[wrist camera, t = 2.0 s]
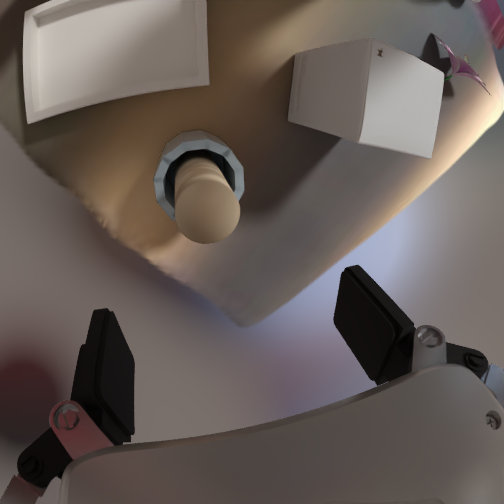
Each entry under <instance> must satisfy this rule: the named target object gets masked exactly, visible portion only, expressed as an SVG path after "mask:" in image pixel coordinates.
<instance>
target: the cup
mask: <svg viewBox="0 0 504 504" xmlns="http://www.w3.org/2000/svg"><path fill="white" fill-rule="evenodd" d="M198 149H204V150H206V151H207V152H209V153H210V155H211V156H212V158H213V159H214V161H215V163H216V164H217V166H218V168H219V169H220V171H221V173H222V174H223V176H224V178H225V179H226V181H227V183H228V184H229V186H230V188H231V189H232V191H233V193H234V195H235V196H236V198H237V200H238V202H239V200H240V198H241V196H242V194H243V192H244V190H245V189H244V172H243V169H244V168H243V166H242V165H241V164H240V162H239V161H238V159H237V158H236V157H235V155H234V154H233V152H232V151H231V149H230V148H229V147H228V146H227V145H226V144H225V143H224V142H223V141H222V140H221V139H220V138H219V137H216V136H214V135H212V134H209V133H207V132H205V131H202V130H195V131H187V132H181V133H180V134H179V135H177V136H176V137H174V138H173V139H172V140H170V141H169V142H168V143H166V144H165V147H164V150H163V152H162V154H161V157H160V159H159V160H158V164H157V167H156V171H155V175H154V178H153V181H154V186H155V193H156V199H157V203H158V204H159V205H160V206H161V208H162V209H163V210H164V211H165V212H166V213H167V215H168V216H169V217H170V218H171V219H172V220H175V164H176V161H177V158H178V157H179V156H180V155H182V154H183V153H184V152H186V151H190V150H198ZM175 221H176V220H175Z"/></svg>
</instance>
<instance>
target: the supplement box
mask: <svg viewBox="0 0 504 504" xmlns="http://www.w3.org/2000/svg"><path fill="white" fill-rule="evenodd" d="M443 84H444V73H443V72H441V71H440V70H438V69H436V68H434V67H433V66H431V65H429V64H427V63H425V62H423V61H421V60H420V59H418V58H416V57H415V56H413V55H411V54H408V53H405V52H403V51H401V50H399V49H397V48H394V47H392V46H390V45H388V44H386V43H383V42H381V41H378V40H376V39H373V38H368V39H361V40H355V41H349V42H344V43H339V44H334V45H329V46H324V47H320V48H315V49H311V50H307V51H303V52H299V53H296V54H295V61H294V70H293V79H292V87H291V95H290V103H289V111H288V121H289V122H292V123H296V124H300V125H303V126H307V127H310V128H313V129H316V130H320V131H323V132H326V133H329V134H332V135H335V136H338V137H341V138H344V139H347V140H350V141H353V142H356V143H359V144H364V145H369V146H374V147H379V148H383V149H388V150H392V151H397V152H401V153H406V154H410V155H414V156H418V157H422V158H426V159H431V155H432V151H433V147H434V142H435V136H436V130H437V124H438V118H439V112H440V106H441V99H442V92H443Z"/></svg>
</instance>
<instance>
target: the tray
mask: <svg viewBox="0 0 504 504" xmlns="http://www.w3.org/2000/svg"><path fill="white" fill-rule="evenodd" d="M23 79H24V95H25V106H26V115H27V123H28V124H31V123H34V122H38V121H41V120H44V119H47V118H50V117H53V116H56V115H59V114H62V113H66V112H69V111H73V110H76V109H80V108H83V107H87V106H91V105H95V104H99V103H103V102H107V101H112V100H116V99H121V98H126V97H131V96H136V95H142V94H148V93H154V92H160V91H167V90H175V89H183V88H192V87H202V86H208V85H210V84H209V63H208V38H207V3H206V0H51V1H49V2H46V3H44V4H41V5H39V6H37V7H34V8H32V9H30V10H28V11H25V17H24V32H23Z"/></svg>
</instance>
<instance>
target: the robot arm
mask: <svg viewBox="0 0 504 504" xmlns="http://www.w3.org/2000/svg"><path fill="white" fill-rule="evenodd" d="M333 320H334V324H335V326H336V328H337V329H338V331H339V332H340V334H341V335H342V337H343V339H344V340H345V341H346V343H347V345H348V346H349V348H350V349H351V351H352V352H353V354H354V355H355V357H356V358H357V360H358V361H359V363H360V364H361V366H362V368H363V369H364V370H365V372H366V374H367V375H368V377H369V378H370V379H371V380H372V381H373V380H374V381H375V382H376V384H377V387H375V388H372V389H370V390H367V391H365V392H362V393H360V394H357V395H354V396H352V397H349V398H346V399H344V400H341V401H338V402H335V403H332V404H329V405H326V406H323V407H320V408H317V409H314V410H311V411H308V412H304V413H301V414H297V415H294V416H291V417H287V418H283V419H279V420H276V421H272V422H267V423H264V424H259V425H255V426H250V427H246V428H241V429H236V430H231V431H227V432H221V433H215V434H209V435H203V436H196V437H189V438H181V439H173V440H165V441H155V442H144V443H135V444H125V445H123V442H131V435H134V433H135V427H134V372H135V369H134V368H135V362H134V358H133V355H132V353H131V351H130V349H129V346H128V344H127V342H126V340H125V338H124V335H123V333H122V331H121V328H120V326H119V324H118V321H117V319H116V317H115V314H114V312H113V311H111V312H110V311H109V310H108V308H105V309H98V310H94V311H93V314H92V318H91V322H90V326H89V330H88V334H87V339H86V343H85V344H83V345H82V346H81V348H80V351H79V356H78V360H77V366H76V371H75V376H74V381H73V387H72V393H71V399H70V400H65V401H62V402H60V403H58V404H57V405H56V406H55V407H54V408H53V409H52V411H51V413H50V418H49V419H50V425H51V427H50V428H49V429H48V430H47V431H46V432H45V433H43V434H42V435H41V436H40V437H39V438H38V439H37V440H35V441H34V442H33V443H32V444H31V445H30V446H29V447H27V448H26V449H25V450H24V451H23V452H22V453H21V454H20V456H19V458H18V462H17V468H18V472H19V473H18V475H17V476H16V475H14V476H13V477H12V479H11V481H10V483H9V485H8V486H7V488H6V490H5V492H4V494H3V496H2V497H1V499H0V504H504V369H502V368H500V367H498V366H496V365H494V364H492V363H491V365H488V361H487V359H486V357H485V356H484V355H483V353H481V352H480V351H477V350H475V349H470V348H467V347H463V346H459V345H455V344H451V343H447V342H446V339H445V336H444V334H443V333H442V332H441V331H440V330H439V329H438V328H436V327H434V326H430V325H423V326H420V327H418V328H417V329H416V328H415V327H414V323H413V322H412V321H411V320H410V319H409V318H408V317H407V315H406V314H405V313H404V312H403V311H402V310H401V309H400V308H399V307H398V306H397V304H396V303H395V302H394V301H393V300H392V299H391V298H390V297H389V296H388V295H387V294H386V293H385V292H384V290H383V289H382V288H381V287H380V286H379V285H378V284H377V283H376V282H375V281H374V280H373V279H372V278H371V277H370V276H369V275H368V274H367V273H366V272H365V271H364V270H363V269H362V268H361V267H360V266H359V265H355V266H350V267H346V268H345V270H344V271H343V272H342V273H341V278H340V284H339V290H338V296H337V302H336V308H335V313H334V319H333ZM386 382H387V383H386ZM383 383H385V384H383ZM381 384H382V385H381ZM378 385H380V386H378Z"/></svg>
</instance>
